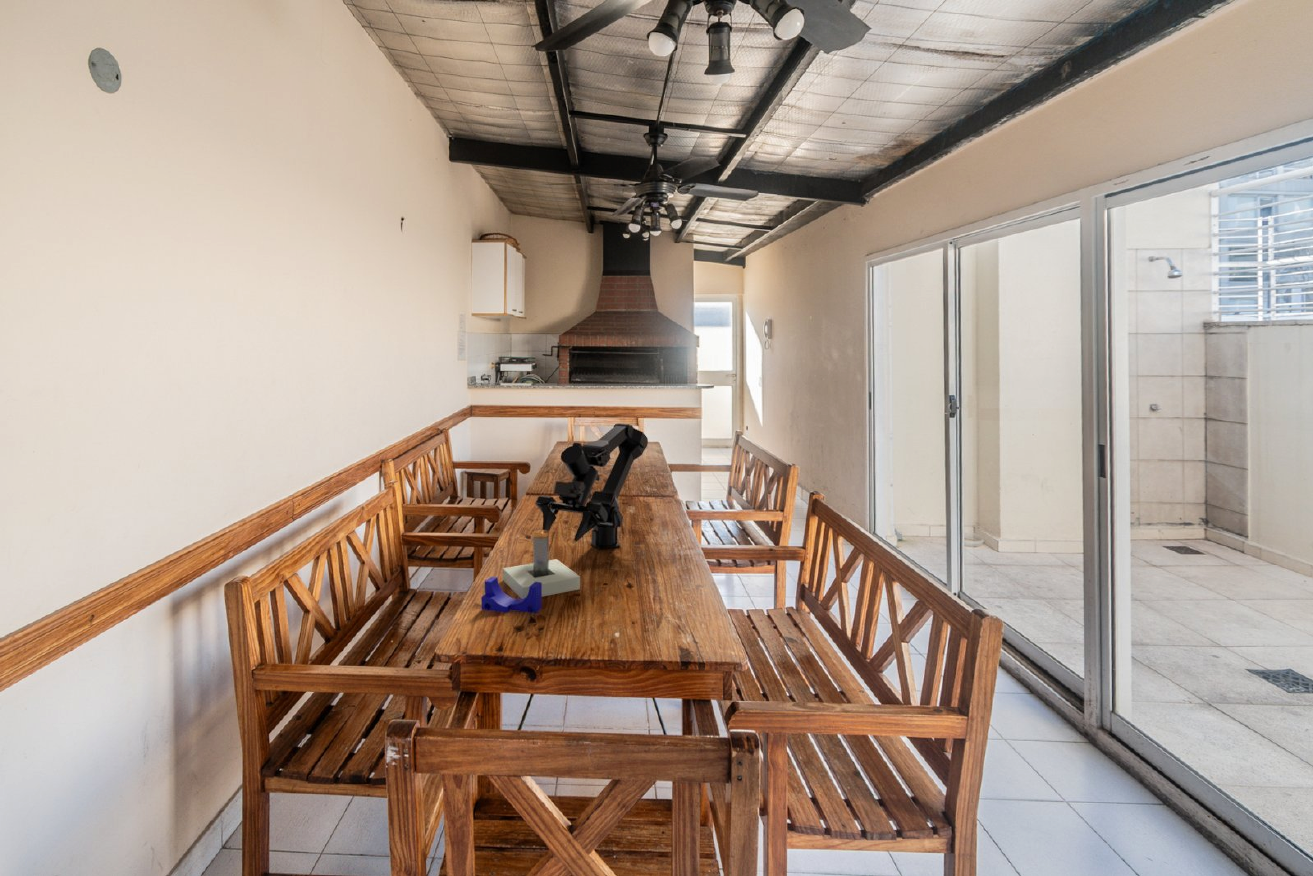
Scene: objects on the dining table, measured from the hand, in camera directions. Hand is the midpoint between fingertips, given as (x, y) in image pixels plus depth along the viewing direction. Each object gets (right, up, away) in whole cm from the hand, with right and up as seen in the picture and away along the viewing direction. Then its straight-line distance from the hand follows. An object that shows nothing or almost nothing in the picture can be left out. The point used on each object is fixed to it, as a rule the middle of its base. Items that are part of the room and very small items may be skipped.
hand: (559, 538), depth 158 cm
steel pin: (-3, -10, -6) cm, 12 cm away
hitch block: (-4, -10, -6) cm, 12 cm away
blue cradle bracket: (-7, -13, -20) cm, 25 cm away
